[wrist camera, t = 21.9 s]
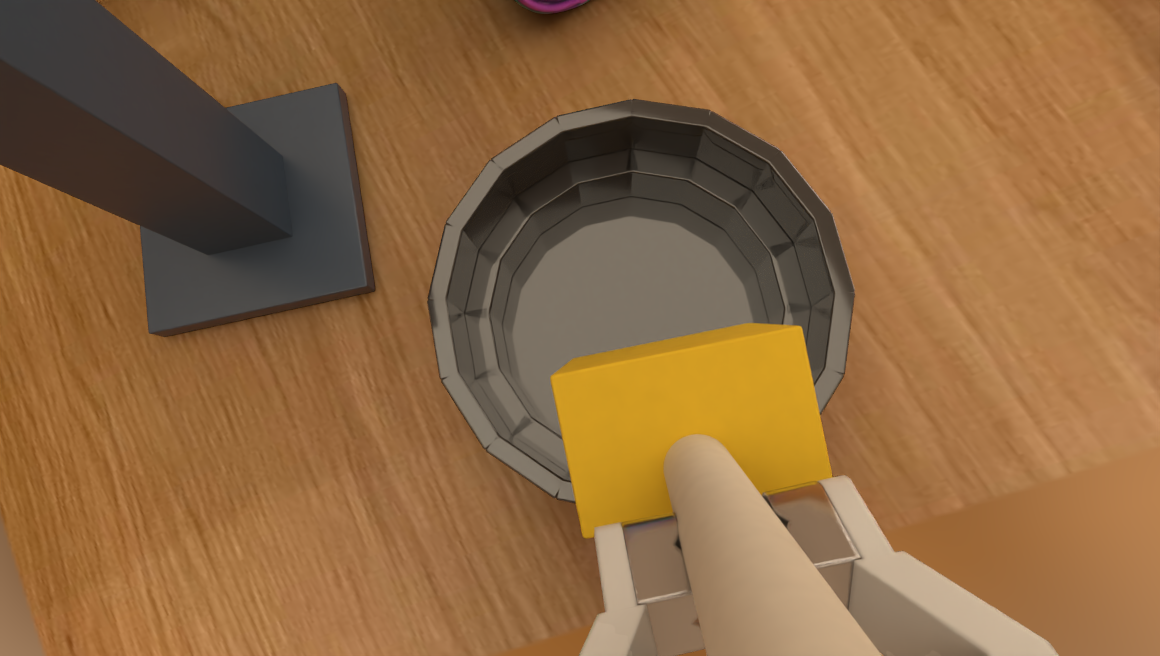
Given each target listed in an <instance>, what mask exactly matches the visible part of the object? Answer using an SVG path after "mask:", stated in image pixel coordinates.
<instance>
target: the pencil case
mask: <svg viewBox="0 0 1160 656" xmlns="http://www.w3.org/2000/svg"><path fill="white" fill-rule="evenodd" d="M514 1H515V2H517V3H518V4H519V5H521V6H522V7H523V8H525V9H528V10H530V11H532V12H536V13H541V14H551V13H558V12H563V11H566V10H569V9H572V8H575V7H578V6H580V5H582V4H584V3H586V2H588V1H590V0H514Z"/></svg>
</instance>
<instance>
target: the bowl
mask: <svg viewBox="0 0 1160 656" xmlns="http://www.w3.org/2000/svg"><path fill="white" fill-rule="evenodd" d="M854 297H855V289H854V286H853V282H852V279H851V275H850V272H849V269H848V265H847V262H846V258H845V255H844V251H843V248H842V245H841V241H840V238H839V234H838V231H837V227H836V224H835V221H834V217H833V214H832V213H831V211H830V210H829V209H828V207H827V206H826V205H825V204H824V202H823V201H822V200H821V199H820V197H819V196H818V195H817V194H816V192H815V191H814V190H813V189H812V188H811V186H810V185H809V184H808V183H807V181H806V180H805V179H804V178H803V176H802V175H801V174H800V173H799V171H798V170H797V169H796V168H795V166H794V165H793V164H792V163H791V162H790V160H789V159H788V158H787V157H786V155H785V154H784V153H783V152H782V151H780V149H779V148H777V147H775V146H774V145H772V144H770V143H768V142H766V141H765V140H763V139H761V138H759V137H757V136H756V135H754V134H752V133H750V132H749V131H747V130H745V129H743V128H741V127H740V126H738V125H736V124H734V123H732V122H731V121H729V120H727V119H725V118H724V117H722V116H720V115H718V114H716V113H715V112H713V111H710V110H707V109H700V108H693V107H686V106H679V105H672V104H665V103H658V102H651V101H644V100H638V99H633V100H626V101H621V102H617V103H612V104H608V105H603V106H599V107H595V108H590V109H586V110H581V111H577V112H572V113H568V114H563V115H559V116H556V117H554V118H552V119H551V120H549V121H548V122H546V123H545V124H543V125H542V126H540V127H539V128H537V129H536V130H534V131H532V132H531V133H529V134H528V135H526V136H525V137H523V138H522V139H520V140H519V141H517V142H516V143H514V144H513V145H511V146H510V147H508V148H507V149H505V150H504V151H502V152H501V153H499V154H498V155H496V156H495V157H493V158H492V159H491V160H489V161H488V163H487V164H486V166H485V167H484V169H483V170H482V171H481V173H480V174H479V176H478V177H477V178H476V180H475V181H474V183H473V184H472V186H471V187H470V188H469V190H468V191H467V193H466V194H465V195H464V197H463V198H462V200H461V201H460V203H459V204H458V205H457V207H456V208H455V210H454V211H453V213H452V214H451V215H450V217H449V218H448V220H447V221H446V224H445V226H444V231H443V235H442V239H441V243H440V248H439V252H438V256H437V260H436V265H435V269H434V273H433V277H432V282H431V286H430V290H429V295H428V301H427V304H428V310H429V316H430V322H431V328H432V334H433V340H434V346H435V352H436V358H437V364H438V370H439V376H440V379H441V382H442V384H443V385H444V387H445V389H446V390H447V392H448V393H449V395H450V396H451V398H452V400H453V401H454V403H455V404H456V406H457V408H458V409H459V411H460V412H461V414H462V415H463V417H464V419H465V420H466V422H467V423H468V425H469V426H470V428H471V430H472V431H473V433H474V434H475V436H476V438H477V439H478V441H479V442H480V444H481V445H482V447H483V449H486V452H488V453H489V454H490V455H492V456H493V457H495V458H496V459H498V460H499V461H501V462H502V463H503V464H505V465H506V466H508V467H509V468H511V469H512V470H514V471H515V472H516V473H518V474H519V475H521V476H522V477H524V478H525V479H527V480H528V481H529V482H531V483H532V484H534V485H535V486H537V487H538V488H540V489H541V490H542V491H544V492H545V493H547V494H548V495H550V496H551V497H553V498H556V499H557V500H560V501H565V502H570V503H575V504H576V502H575V497H574V493H573V488H572V483H571V478H570V473H569V468H568V463H567V459H566V454H565V449H564V444H563V439H562V434H561V430H560V425H559V420H558V415H557V410H556V405H555V400H554V396H553V391H552V386H551V381H550V377H551V376H552V375H553V374H554V373H555V372H557V371H558V370H559V369H560V368H562V367H563V366H564V365H565V364H567V363H568V362H569V361H570V360H572V359H573V358H578V357H582V356H587V355H592V354H597V353H602V352H607V351H612V350H617V349H622V348H627V347H632V346H637V345H642V344H647V343H652V342H657V341H662V340H667V339H672V338H677V337H681V336H686V335H691V334H696V333H701V332H706V331H711V330H716V329H721V328H726V327H731V326H736V325H741V324H746V323H760V324H778V325H797V326H801V327H802V330H803V335H804V340H805V344H806V349H807V354H808V359H809V364H810V369H811V374H812V379H813V383H814V388H815V393H816V398H817V403H818V408H819V413H820V415H821V414H822V412H823V410H824V409H825V407H826V405H827V404H828V402H829V400H830V399H831V397H832V395H833V394H834V392H835V390H836V389H837V387H838V386H839V384H840V382H841V381H842V379H843V377H844V374H845V369H846V361H847V353H848V345H849V337H850V329H851V321H852V313H853V305H854Z"/></svg>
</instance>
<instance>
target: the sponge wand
mask: <svg viewBox="0 0 1160 656" xmlns="http://www.w3.org/2000/svg"><path fill="white" fill-rule="evenodd" d="M550 381H551V386H552V391H553V396H554V400H555V405H556V410H557V415H558V420H559V425H560V430H561V434H562V439H563V444H564V449H565V454H566V459H567V463H568V468H569V473H570V478H571V483H572V488H573V493H574V497H575V502H576V507H577V512H578V517H579V522H580V527H581V531H582V536H583V537H584V538H586V539H587V538H593V537H594V527H599V526H604V525H609V524H613V523H618V522H621V523H622V522H624V521H629V520H635V519H640V518H645V517H651V516H656V515H661V514H666V513H672V512H675V514H676V517H677V521H678V532H679V539H680V543H681V548H682V552H683V556H684V560H685V564H686V569H687V573H688V577H689V581H690V585H691V590H692V594H693V598H694V602H695V606H696V611H697V615H698V619H699V623H700V627H701V632H702V636H703V640H704V644H705V648H706V653H707V656H882V655H881V654H880V652H879V651H878V650H877V648H876V647H875V646H874V644H873V643H872V642H871V640H870V639H869V638H868V636H867V635H866V634H865V632H864V631H863V630H862V628H861V627H860V626H859V624H858V623H857V622H856V620H855V619H854V618H853V616H852V615H851V614H850V612H849V611H848V610H847V609H846V607H845V606H844V605H843V603H842V602H841V601H840V599H839V598H838V597H837V595H836V594H835V593H834V591H833V590H832V589H831V587H830V586H829V585H828V583H827V582H826V581H825V579H824V578H823V577H822V575H821V574H820V573H819V571H818V570H817V569H816V567H815V566H814V565H813V563H812V562H811V561H810V559H809V558H808V557H807V555H806V554H805V553H804V551H803V550H802V549H801V547H800V546H799V545H798V543H797V542H796V541H795V539H794V538H793V537H792V535H791V534H790V533H789V531H788V530H787V529H786V527H785V526H784V525H783V523H782V522H781V521H780V519H779V518H778V517H777V515H776V514H775V513H774V511H773V510H772V509H771V508H770V506H769V505H768V504H767V502H766V501H765V500H764V498H763V497H762V494H763V492H766V491H771V490H775V489H780V488H784V487H788V486H793V485H797V484H802V483H806V482H810V481H819V480H824V479H828V478H832V477H833V476H832V471H831V467H830V462H829V457H828V452H827V447H826V442H825V437H824V432H823V427H822V423H821V418H820V413H819V408H818V403H817V398H816V393H815V388H814V383H813V379H812V374H811V369H810V364H809V359H808V354H807V349H806V344H805V340H804V335H803V330H802V327H801V326H797V325H778V324H760V323H746V324H741V325H736V326H731V327H726V328H721V329H716V330H711V331H706V332H701V333H696V334H691V335H686V336H681V337H677V338H672V339H667V340H662V341H657V342H652V343H647V344H642V345H637V346H632V347H627V348H622V349H617V350H612V351H607V352H602V353H597V354H592V355H587V356H582V357H578V358H573V359H572V360H570V361H569V362H568V363H567V364H565V365H564V366H563V367H562V368H560V369H559V370H558V371H557V372H555V373H554V374H553V375H552V376H551V377H550ZM622 527H623V526H622Z"/></svg>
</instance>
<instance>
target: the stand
mask: <svg viewBox="0 0 1160 656" xmlns="http://www.w3.org/2000/svg"><path fill="white" fill-rule="evenodd" d="M0 165H2V166H5V167H7V168H9V169H12V170H14V171H16V172H19V173H21V174H23V175H25V176H28V177H30V178H32V179H35V180H37V181H39V182H41V183H44V184H46V185H48V186H51V187H53V188H55V189H57V190H60V191H62V192H64V193H67V194H69V195H71V196H73V197H76V198H78V199H80V200H83V201H85V202H87V203H89V204H92V205H94V206H96V207H99V208H101V209H103V210H105V211H108V212H110V213H112V214H115V215H117V216H119V217H121V218H124V219H126V220H128V221H131V222H133V223H135V224H137V225H140V232H141V244H142V256H143V268H144V281H145V293H146V305H147V317H148V329H149V333H150V334H154V335H159V336H163V337H166V336H170V335H175V334H180V333H184V332H189V331H193V330H198V329H203V328H207V327H212V326H216V325H221V324H226V323H230V322H235V321H239V320H244V319H249V318H253V317H258V316H263V315H267V314H272V313H276V312H281V311H286V310H290V309H295V308H299V307H304V306H309V305H313V304H318V303H322V302H327V301H332V300H336V299H341V298H345V297H350V296H355V295H359V294H364V293H369V292H373V291H375V285H374V279H373V272H372V265H371V259H370V252H369V245H368V239H367V232H366V225H365V219H364V212H363V206H362V199H361V192H360V186H359V179H358V172H357V166H356V159H355V152H354V146H353V139H352V132H351V126H350V119H349V112H348V106H347V99H346V94H345V92H344V91H343V90H342V89H341V87H340V86H339V85H338V84H337V83H334V84H329V85H325V86H320V87H316V88H311V89H307V90H303V91H298V92H294V93H289V94H285V95H281V96H276V97H272V98H267V99H263V100H258V101H254V102H250V103H245V104H241V105H236V106H232V107H228V108H225V107H223V106H222V105H221V104H220V103H219V102H217V101H216V100H215V99H214V98H213V97H211V96H210V95H209V94H208V93H206V92H205V91H204V90H203V89H202V88H200V87H199V86H198V85H197V84H196V83H194V82H193V81H192V80H191V79H190V78H188V77H187V76H186V75H185V74H184V73H182V72H181V71H180V70H179V69H178V68H176V67H175V66H174V65H173V64H172V63H170V62H169V61H168V60H167V59H165V58H164V57H163V56H162V55H161V54H159V53H158V52H157V51H156V50H155V49H153V48H152V47H151V46H150V45H149V44H147V43H146V42H145V41H144V40H143V39H141V38H140V37H139V36H138V35H137V34H135V33H134V32H133V31H132V30H131V29H129V28H128V27H127V26H126V25H125V24H123V23H122V22H121V21H120V20H118V19H117V18H116V17H115V16H114V15H112V14H111V13H110V12H109V11H108V10H106V9H105V8H104V7H103V6H102V5H100V4H99V3H98V2H97V1H96V0H0Z"/></svg>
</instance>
